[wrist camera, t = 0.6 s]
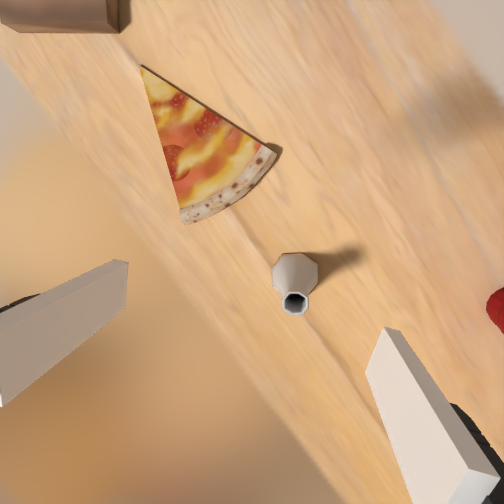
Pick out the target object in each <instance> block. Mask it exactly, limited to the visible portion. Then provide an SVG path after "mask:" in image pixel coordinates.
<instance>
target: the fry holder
mask: <svg viewBox="0 0 504 504" xmlns="http://www.w3.org/2000/svg"><path fill="white" fill-rule="evenodd" d="M0 21H1V23H2V24H4V25H6V26H8V27H9V28H11V29H13V30H15V31H17V32H19V33H115V34H119V16H118V0H0Z"/></svg>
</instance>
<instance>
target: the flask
mask: <svg viewBox="0 0 504 504" xmlns="http://www.w3.org/2000/svg"><path fill="white" fill-rule="evenodd" d="M272 282H273V287H274V288H275V289H276V290H277V291H279V292H280V293H281V294H282V295H283V296H284V297H283V298H282V305H283V310H284V311H286V312H287V313H289V314H291V315H303V314H304V313H305V311H306V310H307V309H308V308H309V300H308V294H309V293H310V292H311V291H312V289H313V288H314V287H315V286H316V284H317V283H318V264H317V263H316V262H314V261H313V260H311V259H310V258H308V257H307V256H305V255H304V254H302V253H294V254H282V255H281V256H280V258H279V259H278V261H277V262H276V263H275V265H274V266H273V268H272Z"/></svg>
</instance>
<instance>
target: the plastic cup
mask: <svg viewBox="0 0 504 504" xmlns="http://www.w3.org/2000/svg"><path fill="white" fill-rule="evenodd" d="M486 311H487V313H488V315H489V317H490V319H491V320H492V321H493V322H494V323H495V324H496V325H497V326H498V327H499V328H500V330H501V332H502V333H503V334H504V288H503V289H500V290H497V291H496V292H495V293H494V294H493V295H491V296H490V298H489V300H488V302H487V307H486Z"/></svg>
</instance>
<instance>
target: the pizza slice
mask: <svg viewBox="0 0 504 504" xmlns="http://www.w3.org/2000/svg"><path fill="white" fill-rule="evenodd" d="M139 69H140V72H141V76H142V79H143V82H144V86H145V89H146V93H147V96H148V100H149V103H150V106H151V110H152V113H153V117H154V120H155V124H156V127H157V131H158V134H159V137H160V141H161V144H162V148H163V151H164V155H165V158H166V161H167V165H168V168H169V172H170V175H171V179H172V182H173V185H174V189H175V192H176V196H177V199H178V203H179V206H180V209H179V215H180V219H181V222H182V223H183V224H184V225H189V224H192V223H195V222H198V221H201V220H203V219H205V218H207V217H210V216H212V215H214V214H215V213H217V212H219V211H221V210H223V209H224V208H226V207H228V206H229V205H231V204H232V203H234V202H236V201H237V200H239V199H240V198H241V197H242V196H243V195H245V194H246V193H247V192H248V191H249V190H250V189H251V188H253V187H254V186H255V185H256V183H257V182H258V180H259V179H260V178H261V177H262V176H263V175H264V173H265V172H266V171H267V170H268V169H269V168H270V166H271V165H272V164H273V162H274V160H275V158H276V157H277V154H276V153H275V152H273V151H272V150H270V149H268V148H267V147H265V146H264V145H262V144H260V143H259V142H257V141H256V140H254V139H253V138H251V137H249V136H248V135H246V134H245V133H243V132H242V131H240V130H239V129H237V128H236V127H234V126H232V125H231V124H229V123H228V122H226V121H225V120H223V119H222V118H220V117H219V116H217V115H216V114H214V113H212V112H211V111H209V110H208V109H206V108H205V107H203V106H202V105H200V104H199V103H197V102H195V101H194V100H192V99H191V98H189V97H188V96H186V95H185V94H183V93H182V92H180V91H178V90H177V89H175V88H174V87H172V86H171V85H169V84H168V83H166V82H165V81H163V80H162V79H160V78H158V77H157V76H155V75H154V74H152V73H151V72H149V71H148V70H146V69H145V68H143V67H141V66H140V65H139ZM183 208H184V209H183Z"/></svg>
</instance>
